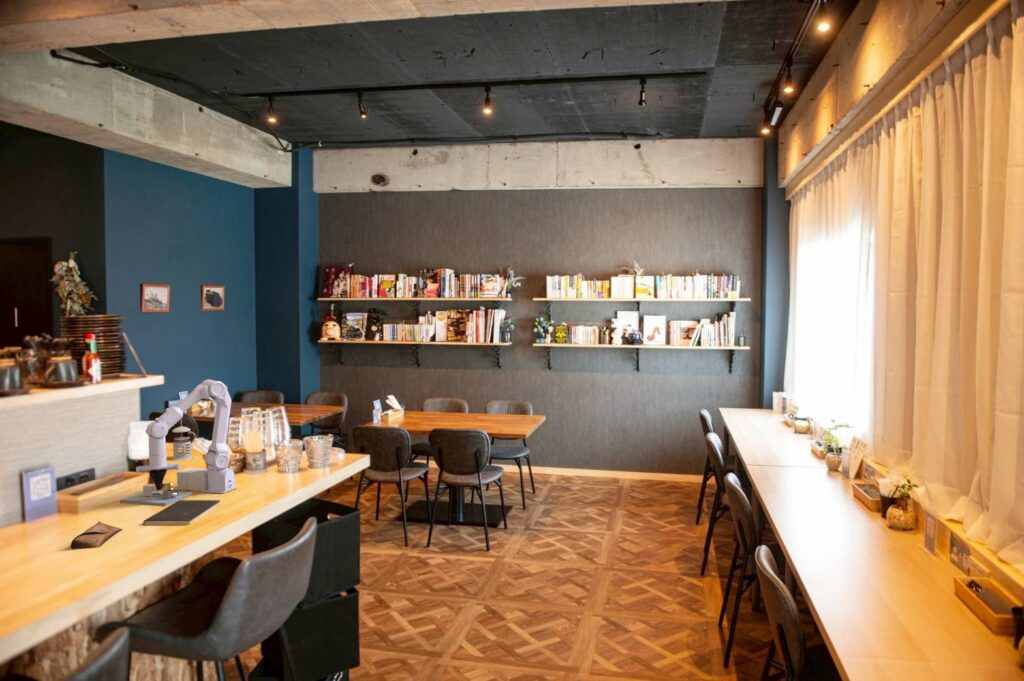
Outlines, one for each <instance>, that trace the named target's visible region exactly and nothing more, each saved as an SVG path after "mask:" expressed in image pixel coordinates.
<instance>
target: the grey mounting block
mask: <svg viewBox="0 0 1024 681" xmlns="http://www.w3.org/2000/svg"><path fill="white" fill-rule="evenodd" d="M162 491H163V499H167V500H169V499H171V493H178V496H179V492H180V490H179V488H177V487H173V490H162Z"/></svg>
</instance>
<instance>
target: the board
mask: <svg viewBox="0 0 1024 681" xmlns="http://www.w3.org/2000/svg"><path fill="white" fill-rule="evenodd" d="M163 491H164V490H160V491H158V492H163ZM192 494H193V493H192V492H184V491H183V492H181V491H179V496H177V497H172V496H171V499H169V500H167V499H163V496H158V495H156V496H153V497H148V496H143V491H141V492H138V493H135V494H133V495H129V496H127V497H125V498H122V499H119V503H120V504H121V503H123V504H133V505H150V506H162V507H163V506H165V507H166V506H167V507H168V505H169V506H170V505H172V504H173V503H175V502H177V501H179V500H184V499H187V498H189V497H191V496H192Z"/></svg>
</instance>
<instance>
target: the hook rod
mask: <svg viewBox="0 0 1024 681" xmlns="http://www.w3.org/2000/svg"><path fill="white" fill-rule="evenodd" d="M154 484H155V483H147V484H145V485H142V492H143V496H148V497H153V496H156V495H158V496H163V492H158V491H155V488H154ZM171 496H172V497H177V496H178V493H171Z"/></svg>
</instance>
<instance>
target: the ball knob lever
mask: <svg viewBox="0 0 1024 681" xmlns="http://www.w3.org/2000/svg"><path fill="white" fill-rule="evenodd" d="M153 484H154V488H155V491H166V490H173V488H174V483H173V481H172V482H163V483H162V489H161V490H156V486H155V483H153Z"/></svg>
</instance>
